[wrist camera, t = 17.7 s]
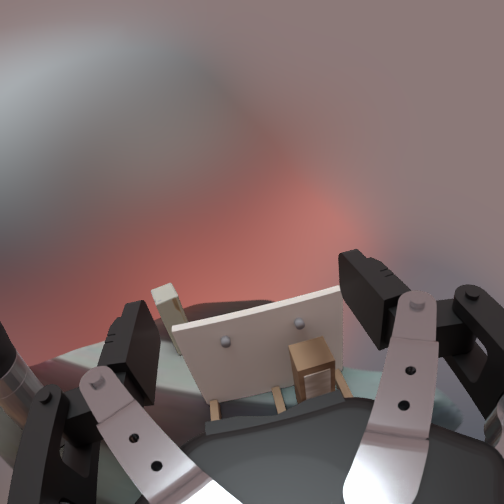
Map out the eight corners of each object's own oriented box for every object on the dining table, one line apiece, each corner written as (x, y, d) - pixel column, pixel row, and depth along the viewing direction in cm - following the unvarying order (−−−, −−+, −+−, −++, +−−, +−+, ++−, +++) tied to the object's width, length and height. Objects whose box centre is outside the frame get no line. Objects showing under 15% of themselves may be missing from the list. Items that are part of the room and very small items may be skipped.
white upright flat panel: (210, 443, 36) (167, 375, 29) (206, 398, 44) (172, 325, 37) (359, 405, 38) (368, 325, 31) (339, 365, 45) (338, 285, 38)
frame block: (304, 423, 37) (297, 372, 32) (296, 399, 41) (288, 345, 36) (334, 413, 37) (335, 360, 32) (325, 390, 42) (322, 335, 36)
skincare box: (199, 347, 56) (179, 296, 50) (178, 356, 54) (155, 305, 49) (190, 329, 61) (171, 281, 56) (171, 337, 60) (150, 289, 54)
